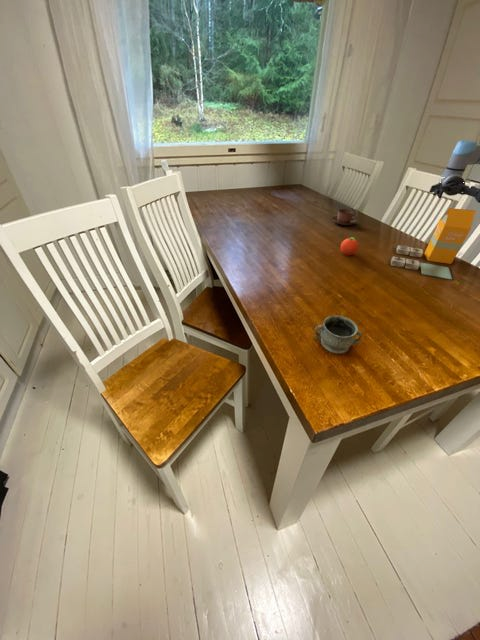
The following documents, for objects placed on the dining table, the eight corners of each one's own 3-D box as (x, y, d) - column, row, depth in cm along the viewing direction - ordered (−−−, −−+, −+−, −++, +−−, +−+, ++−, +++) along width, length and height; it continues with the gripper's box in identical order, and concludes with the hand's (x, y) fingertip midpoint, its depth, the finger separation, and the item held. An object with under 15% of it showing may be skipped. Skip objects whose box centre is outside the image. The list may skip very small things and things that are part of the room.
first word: (420, 253, 118) (422, 248, 116) (421, 257, 115) (423, 253, 113) (396, 249, 121) (398, 244, 119) (396, 253, 118) (398, 248, 116)
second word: (448, 268, 108) (450, 263, 106) (451, 279, 100) (454, 274, 99) (391, 257, 114) (393, 253, 113) (390, 268, 107) (392, 263, 106)
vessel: (356, 336, 76) (363, 318, 72) (359, 359, 69) (367, 341, 65) (312, 329, 78) (316, 311, 74) (311, 350, 71) (316, 332, 67)
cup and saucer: (352, 220, 150) (355, 208, 146) (356, 227, 141) (360, 215, 137) (330, 218, 151) (333, 207, 147) (332, 226, 142) (335, 214, 138)
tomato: (341, 248, 121) (345, 232, 116) (357, 252, 118) (362, 236, 114) (337, 255, 115) (341, 239, 111) (354, 259, 113) (359, 242, 108)
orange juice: (451, 264, 110) (479, 213, 98) (427, 260, 112) (451, 211, 100) (446, 256, 116) (472, 207, 103) (423, 253, 118) (446, 205, 106)
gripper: (481, 197, 121) (493, 211, 106) (418, 190, 128) (421, 202, 113) (491, 178, 116) (505, 190, 101) (425, 172, 124) (429, 182, 109)
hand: (460, 196), depth 107 cm, fingers open, 13 cm apart
